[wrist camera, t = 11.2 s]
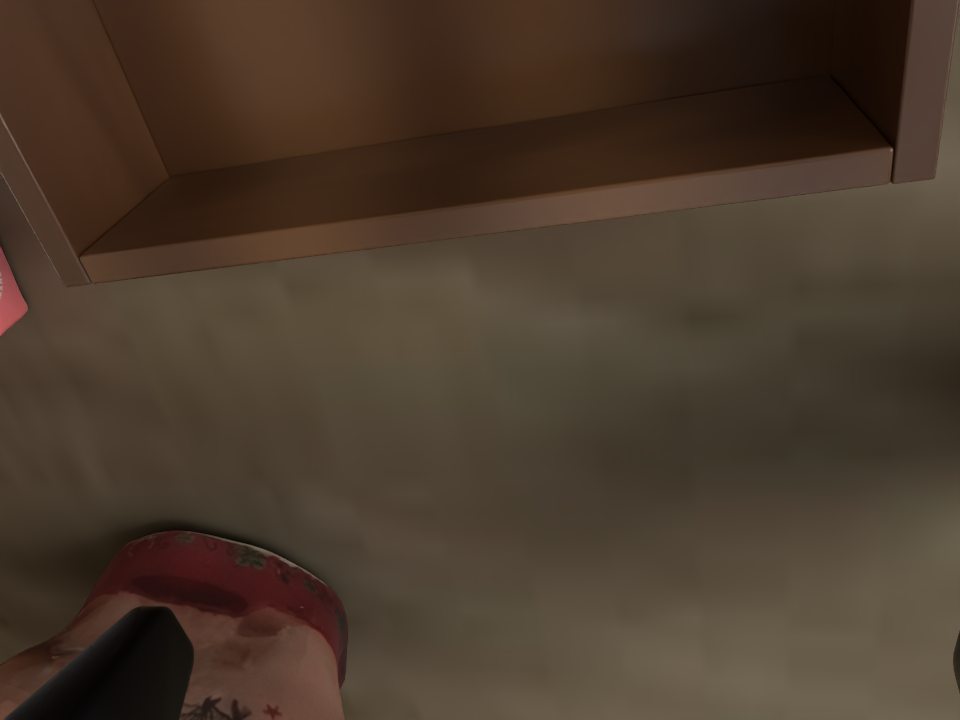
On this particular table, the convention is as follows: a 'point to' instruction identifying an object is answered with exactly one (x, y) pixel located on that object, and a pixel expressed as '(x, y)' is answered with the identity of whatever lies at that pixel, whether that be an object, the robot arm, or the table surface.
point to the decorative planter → (214, 628)
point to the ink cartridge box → (9, 297)
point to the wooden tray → (441, 117)
